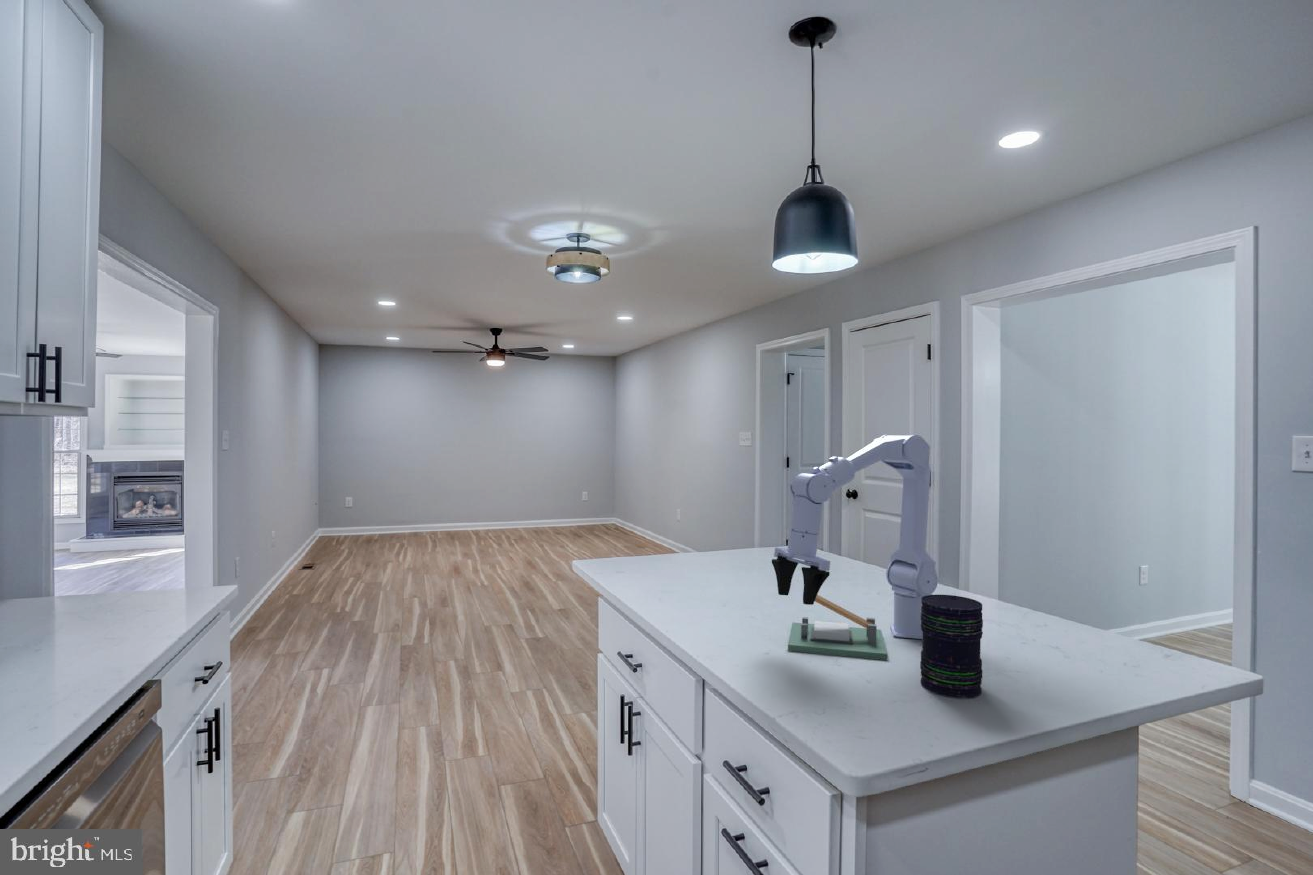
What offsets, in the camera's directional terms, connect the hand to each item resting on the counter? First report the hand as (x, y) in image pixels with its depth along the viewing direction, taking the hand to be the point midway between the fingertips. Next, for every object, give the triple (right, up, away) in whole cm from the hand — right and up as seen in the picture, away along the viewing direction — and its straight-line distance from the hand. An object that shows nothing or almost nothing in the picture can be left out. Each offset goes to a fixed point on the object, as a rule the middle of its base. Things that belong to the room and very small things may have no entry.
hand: (795, 599), depth 128 cm
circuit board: (+10, -11, +6) cm, 16 cm away
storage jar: (+23, -11, -18) cm, 31 cm away
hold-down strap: (+10, -5, +6) cm, 13 cm away
